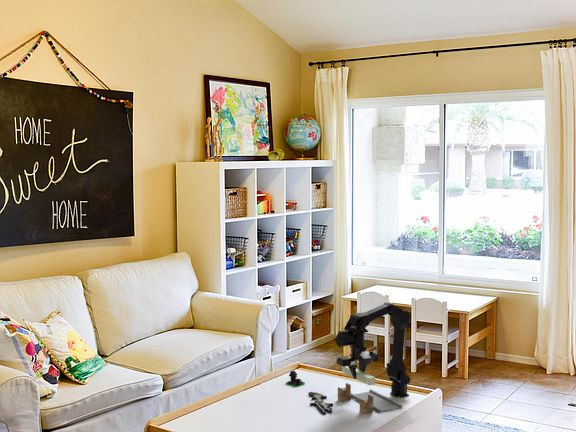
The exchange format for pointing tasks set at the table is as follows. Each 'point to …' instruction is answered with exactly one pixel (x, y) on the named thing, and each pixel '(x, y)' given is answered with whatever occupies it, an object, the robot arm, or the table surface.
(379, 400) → the track
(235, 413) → the table surface
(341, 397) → the hook post
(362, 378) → the rail
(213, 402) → the table surface
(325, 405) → the nameplate
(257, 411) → the table surface
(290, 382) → the toy figurine
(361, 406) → the hook post
